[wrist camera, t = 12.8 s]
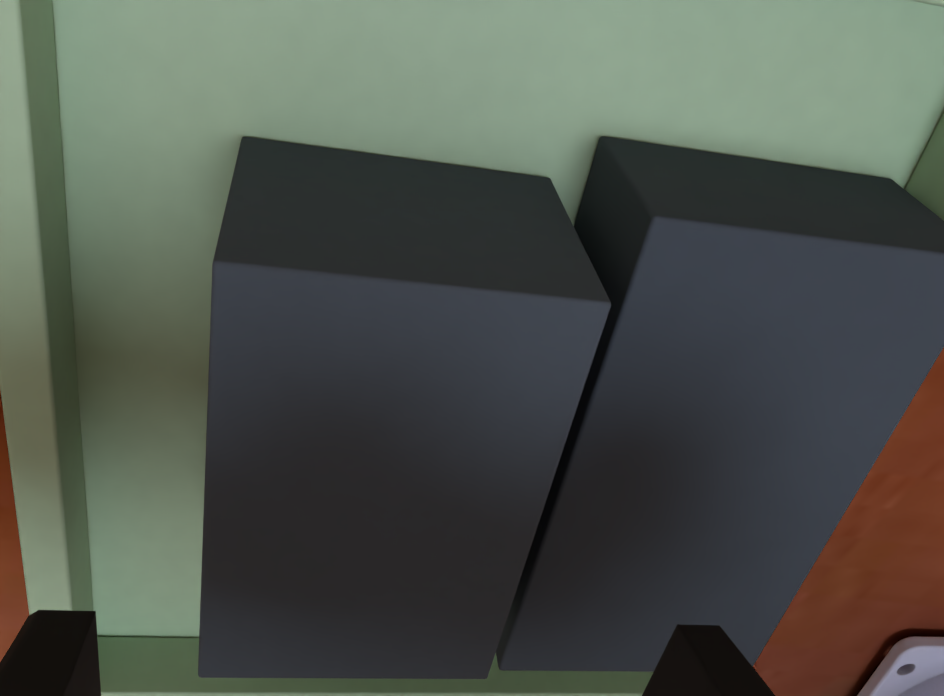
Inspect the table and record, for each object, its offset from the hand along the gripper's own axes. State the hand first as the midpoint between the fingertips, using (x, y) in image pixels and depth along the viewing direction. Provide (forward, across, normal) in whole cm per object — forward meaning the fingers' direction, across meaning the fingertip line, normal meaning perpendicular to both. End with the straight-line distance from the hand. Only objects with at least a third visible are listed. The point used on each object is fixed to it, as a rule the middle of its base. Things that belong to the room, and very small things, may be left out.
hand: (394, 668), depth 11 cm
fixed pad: (+6, -6, 0) cm, 9 cm away
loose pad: (+6, 0, 0) cm, 7 cm away
